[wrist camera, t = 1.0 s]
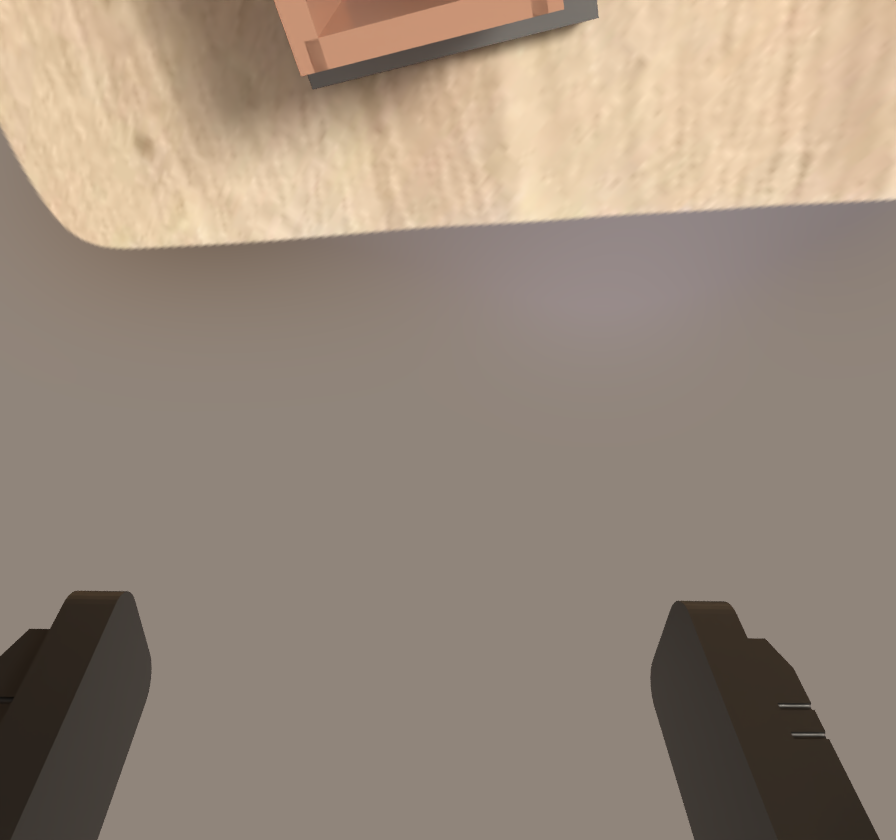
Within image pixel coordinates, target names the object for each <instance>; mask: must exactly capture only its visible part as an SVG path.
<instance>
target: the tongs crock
mask: <svg viewBox="0 0 896 840" xmlns="http://www.w3.org/2000/svg"><path fill="white" fill-rule="evenodd" d="M274 2H275V5H276V8H277V10H278V13H279V16H280V19H281V22H282V24H283V27H284V30H285V33H286V36H287V38H288V41H289V44H290V47H291V50H292V52H293V55H294V58H295V61H296V64H297V66H298V69H299V72H300V75H301V76H305V75H308V78H309V81H310V83H311V86H312V89H317V88H321V87H325V86H329V85H333V84H337V83H341V82H345V81H349V80H353V79H357V78H361V77H365V76H369V75H373V74H377V73H381V72H385V71H389V70H393V69H397V68H401V67H405V66H409V65H413V64H417V63H420V62H424V61H428V60H432V59H436V58H440V57H444V56H448V55H452V54H456V53H460V52H464V51H468V50H472V49H476V48H480V47H484V46H488V45H492V44H496V43H500V42H504V41H508V40H512V39H516V38H520V37H524V36H528V35H532V34H536V33H540V32H544V31H548V30H552V29H556V28H560V27H564V26H568V25H572V24H576V23H580V22H584V21H588V20H592V19H596V18H599V17H598V7H597V0H274Z"/></svg>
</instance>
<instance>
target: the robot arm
mask: <svg viewBox="0 0 896 840" xmlns="http://www.w3.org/2000/svg"><path fill="white" fill-rule="evenodd" d="M150 680H151V657H150V652H149V649H148V645H147V642H146V638H145V635H144V631H143V628H142V624H141V620H140V617H139V613H138V610H137V606H136V603H135V599H134V597H133V595H132V594H131V593H130V592H127V591H74V592H72V593H71V594H70V595H69V596H68V597H67V599H66V600H65V602H64V604H63V605H62V607H61V609H60V611H59V613H58V615H57V617H56V619H55V621H54V622H53V624H52V627H51V628H50V629H29V630H28V631H27V632H26V633H25V634H24V635H23V636H21V638H19V639H18V640H17V641H16V642H15V643H14V644H13V645H12V646H11V647H10V648H9V649H8V650H6V651H5V652H4V653H3V654H2V655H1V656H0V840H97V839H98V836H99V833H100V830H101V828H102V825H103V822H104V819H105V816H106V813H107V810H108V808H109V805H110V802H111V799H112V797H113V794H114V791H115V788H116V785H117V782H118V779H119V777H120V774H121V771H122V768H123V765H124V762H125V760H126V757H127V754H128V751H129V748H130V745H131V742H132V739H133V737H134V734H135V731H136V728H137V725H138V722H139V720H140V717H141V714H142V711H143V708H144V705H145V703H146V699H147V696H148V692H149V687H150ZM651 692H652V698H653V703H654V707H655V710H656V713H657V717H658V719H659V723H660V727H661V730H662V733H663V737H664V740H665V743H666V746H667V750H668V753H669V756H670V760H671V763H672V766H673V770H674V773H675V776H676V780H677V783H678V786H679V790H680V793H681V796H682V799H683V803H684V806H685V810H686V813H687V816H688V820H689V823H690V826H691V830H692V833H693V836H694V839H695V840H880V839H879V837H878V835H877V833H876V832H875V829H874V828H873V825H872V824H871V821H870V819H869V817H868V816H867V814H866V812H865V810H864V808H863V806H862V804H861V802H860V800H859V798H858V796H857V794H856V792H855V790H854V788H853V786H852V784H851V782H850V780H849V778H848V776H847V774H846V772H845V770H844V768H843V766H842V764H841V762H840V760H839V758H838V756H837V754H836V752H835V750H834V748H833V746H832V744H831V742H830V740H829V739H826V737H825V730H824V728H823V726H822V724H821V722H820V720H819V718H818V716H817V714H816V712H815V710H812V709H811V702H810V700H809V698H808V696H807V694H806V692H805V691H804V688H803V686H802V685H801V682H800V680H799V678H798V676H797V674H796V673H795V670H794V669H793V667H792V666H791V665H790V664H789V663H788V662H787V661H786V660H785V659H784V658H783V657H782V656H781V655H780V654H779V653H778V652H777V651H776V650H775V649H774V648H773V647H772V645H771V644H770V643H769V642H768V641H767V640H766V639H749V638H747V636H746V634H745V632H744V629H743V627H742V625H741V623H740V621H739V618H738V616H737V614H736V612H735V610H734V609H733V607H732V606H731V605H730V604H729V603H727V602H724V601H723V602H722V601H676V602H675V603H674V604H673V605H672V607H671V610H670V613H669V615H668V618H667V621H666V624H665V627H664V630H663V633H662V636H661V638H660V642H659V644H658V647H657V650H656V653H655V656H654V659H653V662H652V667H651Z"/></svg>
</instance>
